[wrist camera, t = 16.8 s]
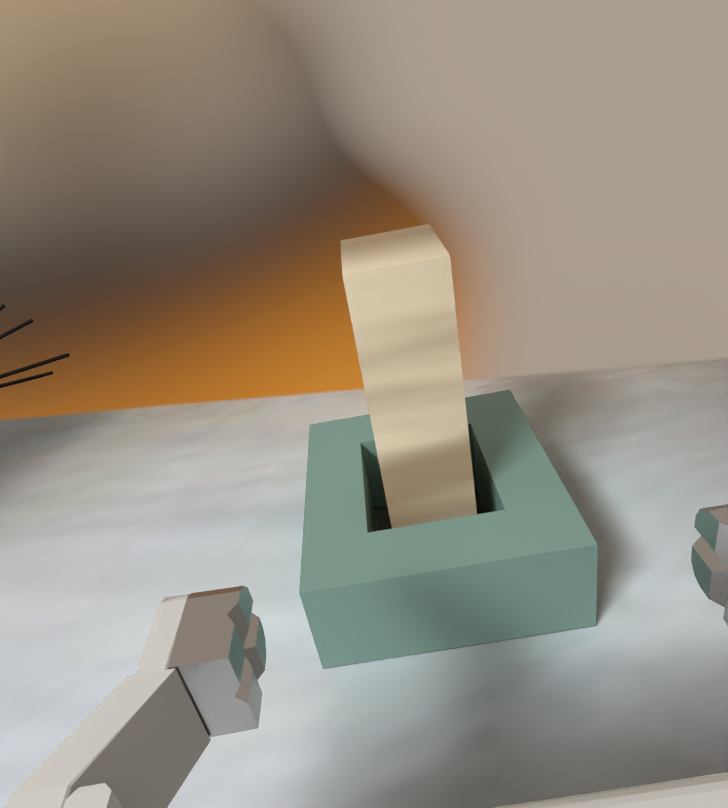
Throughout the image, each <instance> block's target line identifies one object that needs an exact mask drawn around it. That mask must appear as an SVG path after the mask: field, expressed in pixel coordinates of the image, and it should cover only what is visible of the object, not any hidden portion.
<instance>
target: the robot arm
mask: <svg viewBox="0 0 728 808" xmlns="http://www.w3.org/2000/svg"><path fill="white" fill-rule="evenodd" d="M694 527H695V528H696V529H697V531H698V532H699V533H700V534H701V537H700V538H699V539H698V540H697V541H696V542H695V543H694V545H693V546H692V558H691V561H692V565H693V570H694V574H695V577H696V579H697V581H698V583H699V585H700V587H701V589H702V590H703V591H704V593H705V594H706V596H707V597H708V599H710V600H712V601H714V602H716V603H718V604H720V605H721V606H723V607H725V611H724V618H723V619H724V621H725V622H726V623H727V625H728V504H725V505H720V506H714V507H708V508H703V509H700V510H699V511H698V513H697V515H696V519H695V526H694ZM252 603H253V599H252V597H251V595H250V592H249V590H248V587H245V586H239V587H232V588H225V589H218V590H211V591H204V592H197V593H191V594H188V595H181V596H174V597H166V598H164V599H163V600H162V601H161V603H160V604H159V606H158V609H157V612H156V615H155V618H154V621H153V624H152V627H151V630H150V633H149V636H148V639H147V642H146V645H145V648H144V651H143V654H142V657H141V660H140V663H139V666H138V669H137V672H136V675H131V676H127V677H126V678H125V679H124V680H123V681H122V682H121V683H120V684H119V685H118V686H117V687H116V688H115V690H114V691H113V692H112V693H111V694H110V695H109V696H108V697H107V698H106V699H105V700H104V701H103V702H102V703H101V704H100V705H99V706H98V707H97V708H96V709H95V710H94V711H93V712H92V713H91V714H90V715H89V716H88V717H87V718H86V719H85V720H84V721H83V722H82V723H81V724H80V725H79V726H78V727H77V728H76V729H75V730H74V731H73V732H72V733H71V734H70V735H69V736H68V737H67V738H66V739H65V741H64V742H63V743H62V744H61V745H60V746H59V747H58V748H57V749H56V750H55V751H54V752H53V753H52V754H51V755H50V756H49V757H48V758H47V759H46V760H45V761H44V762H43V763H42V764H41V765H40V766H39V767H38V768H37V769H36V770H35V771H34V772H33V773H32V774H31V775H30V776H29V777H28V778H27V779H26V780H25V781H24V782H23V783H22V784H21V785H20V786H19V787H18V788H17V789H16V791H15V792H14V793H13V794H12V795H11V796H10V799H9V801H8V803H7V805H6V808H167V807H168V805H169V804H170V802H171V801H172V799H173V798H174V796H175V795H176V793H177V791H178V790H179V788H180V787H181V785H182V784H183V782H184V781H185V779H186V778H187V776H188V774H189V773H190V771H191V770H192V768H193V767H194V765H195V764H196V762H197V761H198V759H199V757H200V756H201V754H202V753H203V751H204V750H205V748H206V747H207V745H208V744H209V742H210V737H214V736H219V735H224V734H230V733H235V732H240V731H245V730H251V729H256V728H258V725H259V716H260V708H261V699H262V691H261V688H260V686H259V683H258V681H257V680H258V679H259V677H260V676H261V675H262V673H263V672H264V671H265V662H266V645H265V636H264V631H263V627H262V624H261V621H260V618H259V617H258V616H256V615H254V614H253V613H251V610H252ZM492 808H728V772H725V773H718V774H712V775H705V776H698V777H692V778H685V779H678V780H672V781H665V782H659V783H652V784H645V785H639V786H632V787H625V788H619V789H612V790H606V791H599V792H592V793H586V794H579V795H572V796H566V797H559V798H552V799H546V800H539V801H532V802H526V803H519V804H512V805H506V806H499V807H492Z"/></svg>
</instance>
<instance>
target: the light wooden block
mask: <svg viewBox="0 0 728 808" xmlns="http://www.w3.org/2000/svg"><path fill="white" fill-rule="evenodd" d="M341 258H342V276H343V281H344V286H345V291H346V296H347V301H348V306H349V311H350V316H351V322H352V327H353V332H354V337H355V342H356V348H357V353H358V358H359V363H360V368H361V373H362V378H363V383H364V389H365V394H366V399H367V404H368V409H369V414H370V419H371V424H372V430H373V435H374V440H375V445H376V450H377V455H378V460H379V465H380V471H381V476H382V481H383V486H384V491H385V496H386V501H387V506H388V512H389V517H390V522H391V527H392V528H398V527H404V526H410V525H416V524H422V523H428V522H434V521H440V520H446V519H452V518H458V517H464V516H470V515H476V514H477V508H476V499H475V489H474V480H473V470H472V461H471V451H470V442H469V432H468V423H467V413H466V403H465V394H464V384H463V375H462V365H461V356H460V346H459V337H458V327H457V318H456V308H455V299H454V289H453V280H452V270H451V260H450V255H449V253H448V252H447V250H446V249H445V247H444V246H443V245H442V243H441V241H440V240H439V238H438V237H437V235H436V234H435V232H434V231H433V229H432V228H431V226H430V224H427V225H422V226H417V227H412V228H406V229H401V230H395V231H390V232H385V233H379V234H374V235H369V236H363V237H358V238H352V239H347V240H342V241H341Z"/></svg>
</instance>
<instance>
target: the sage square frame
mask: <svg viewBox="0 0 728 808" xmlns="http://www.w3.org/2000/svg"><path fill="white" fill-rule="evenodd" d="M465 403H466V413H467V423H468V432H469V442H470V451H471V461H472V470H473V480H474V489H475V492H476V491H478V494H479V497H480V500H481V503H482V506H483V508H484V511H485V513H482V514H476V515H470V516H464V517H458V518H452V519H446V520H440V521H434V522H428V523H422V524H416V525H410V526H404V527H398V528H392V529H386V530H380V531H376V522H375V512H374V509H375V508H381V507H386V506H387V501H386V496H385V491H384V486H383V481H382V476H381V471H380V465H379V460H378V455H377V450H376V445H375V440H374V435H373V430H372V424H371V419H370V414H369V415H363V416H358V417H352V418H346V419H340V420H335V421H329V422H323V423H317V424H312V425H310V431H309V447H308V463H307V479H306V495H305V511H304V528H303V544H302V560H301V576H300V592H299V593H300V597H301V600H302V603H303V606H304V609H305V613H306V616H307V619H308V622H309V625H310V629H311V632H312V635H313V638H314V641H315V645H316V648H317V651H318V654H319V657H320V661H321V664H322V667H323V669H324V668H331V667H337V666H343V665H350V664H356V663H362V662H369V661H375V660H381V659H388V658H394V657H400V656H407V655H413V654H419V653H426V652H432V651H439V650H445V649H451V648H458V647H464V646H470V645H477V644H483V643H489V642H496V641H502V640H508V639H515V638H521V637H527V636H534V635H540V634H546V633H553V632H559V631H565V630H572V629H578V628H584V627H591V626H596V613H597V561H598V544H597V542H596V540H595V539H594V537H593V535H592V533H591V532H590V530H589V528H588V526H587V525H586V523H585V521H584V519H583V517H582V516H581V514H580V512H579V510H578V509H577V507H576V505H575V503H574V502H573V500H572V498H571V496H570V495H569V493H568V491H567V489H566V488H565V486H564V484H563V482H562V481H561V479H560V477H559V475H558V474H557V472H556V470H555V468H554V467H553V465H552V463H551V461H550V459H549V458H548V456H547V454H546V452H545V451H544V449H543V447H542V445H541V444H540V442H539V440H538V438H537V437H536V435H535V433H534V431H533V430H532V428H531V426H530V424H529V423H528V421H527V419H526V417H525V416H524V414H523V412H522V410H521V409H520V407H519V405H518V403H517V401H516V400H515V398H514V396H513V394H512V393H511V391H510V390H506V391H501V392H495V393H489V394H483V395H478V396H472V397H466V398H465Z"/></svg>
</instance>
